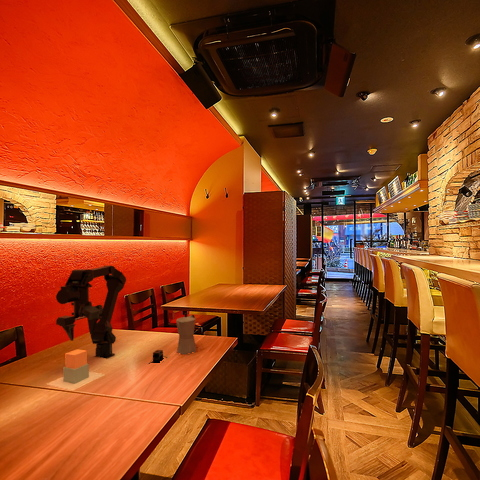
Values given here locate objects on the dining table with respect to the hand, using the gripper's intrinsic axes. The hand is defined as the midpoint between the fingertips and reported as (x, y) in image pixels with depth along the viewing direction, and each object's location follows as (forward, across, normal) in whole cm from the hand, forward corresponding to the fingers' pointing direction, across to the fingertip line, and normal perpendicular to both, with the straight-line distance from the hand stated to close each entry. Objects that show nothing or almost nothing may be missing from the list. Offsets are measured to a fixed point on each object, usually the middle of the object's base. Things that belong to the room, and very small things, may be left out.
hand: (82, 337), depth 128 cm
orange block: (+7, -10, -9) cm, 15 cm away
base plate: (+13, -10, -9) cm, 19 cm away
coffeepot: (+13, +34, -29) cm, 47 cm away
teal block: (+12, -10, -9) cm, 18 cm away
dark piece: (+14, +18, -24) cm, 33 cm away
